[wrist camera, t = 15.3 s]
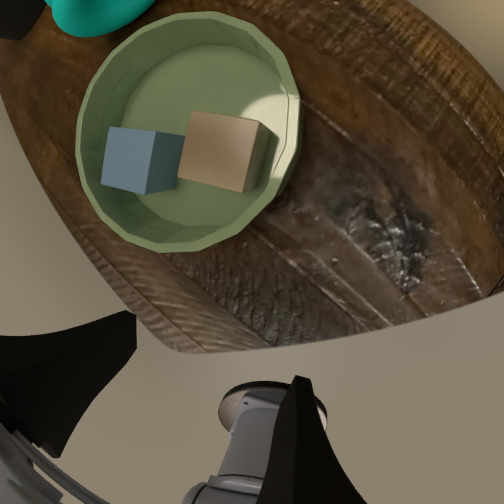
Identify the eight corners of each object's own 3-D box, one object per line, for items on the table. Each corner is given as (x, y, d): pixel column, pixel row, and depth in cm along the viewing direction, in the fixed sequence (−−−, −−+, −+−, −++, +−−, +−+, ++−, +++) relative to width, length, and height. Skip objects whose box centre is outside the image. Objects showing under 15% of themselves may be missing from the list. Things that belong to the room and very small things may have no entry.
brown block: (257, 188, 18) (242, 193, 14) (203, 174, 18) (176, 177, 15) (272, 130, 16) (260, 121, 13) (216, 119, 17) (191, 109, 13)
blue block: (175, 188, 19) (144, 195, 15) (133, 178, 20) (100, 184, 16) (186, 136, 18) (156, 131, 14) (142, 130, 18) (109, 126, 15)
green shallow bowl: (272, 258, 20) (258, 287, 15) (106, 206, 22) (66, 217, 17) (326, 56, 14) (328, 23, 10) (141, 43, 16) (105, 25, 12)
